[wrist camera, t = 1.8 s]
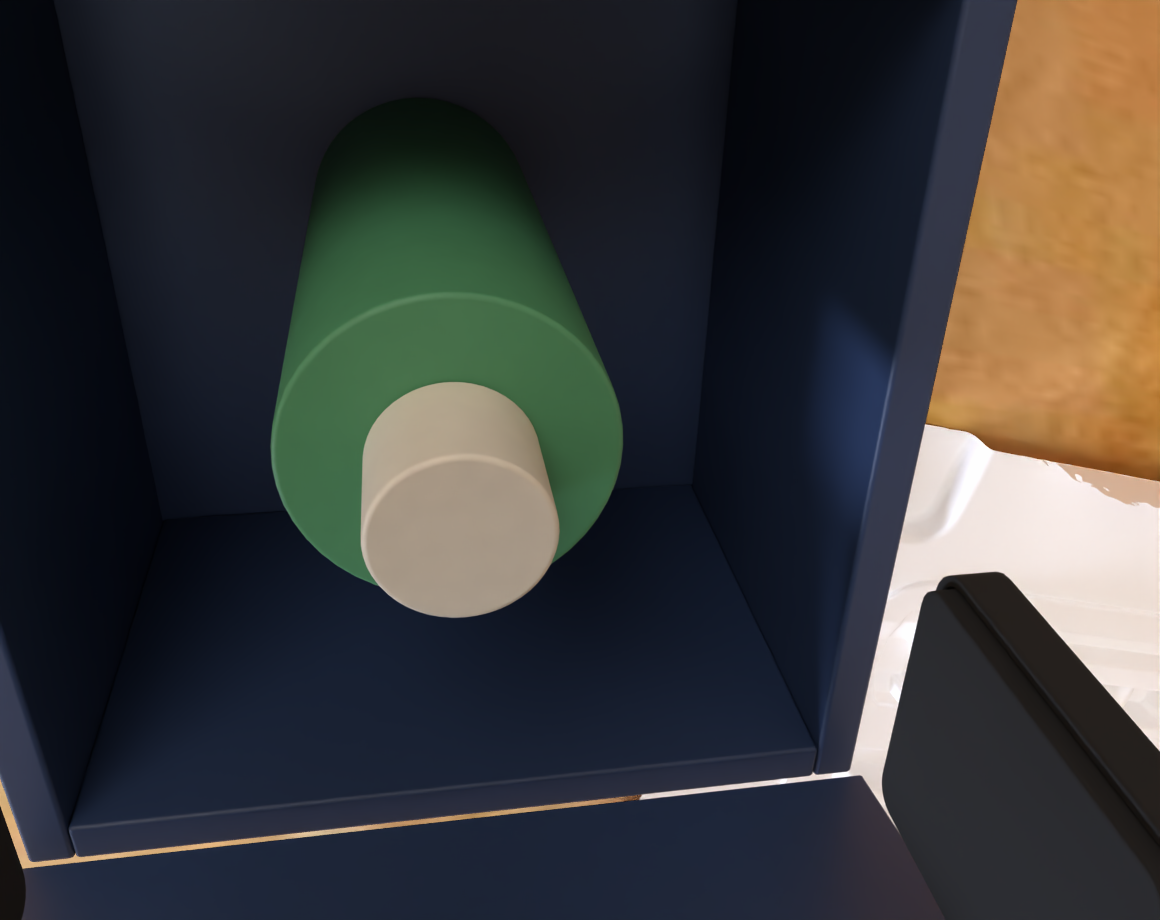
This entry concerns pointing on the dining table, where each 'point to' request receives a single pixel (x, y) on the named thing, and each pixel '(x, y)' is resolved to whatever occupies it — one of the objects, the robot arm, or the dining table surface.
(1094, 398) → the dining table surface
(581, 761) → the navy storage box
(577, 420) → the bottle
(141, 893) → the navy door with handle
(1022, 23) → the dining table surface
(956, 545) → the tray
